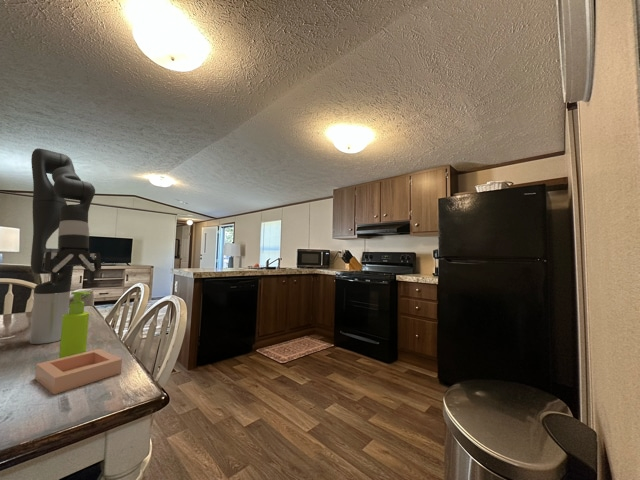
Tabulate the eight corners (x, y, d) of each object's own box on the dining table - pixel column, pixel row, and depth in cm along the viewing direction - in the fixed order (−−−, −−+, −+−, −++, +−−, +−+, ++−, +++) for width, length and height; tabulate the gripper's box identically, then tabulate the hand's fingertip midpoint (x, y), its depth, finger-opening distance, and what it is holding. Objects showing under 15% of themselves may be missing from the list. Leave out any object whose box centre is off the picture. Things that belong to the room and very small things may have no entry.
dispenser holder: (34, 378, 65) (36, 363, 65) (98, 361, 76) (99, 348, 77) (53, 394, 58) (55, 378, 58) (121, 372, 69) (121, 359, 69)
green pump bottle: (71, 362, 75) (77, 293, 76) (53, 360, 76) (59, 292, 77) (93, 355, 80) (98, 291, 82) (75, 353, 82) (81, 289, 83)
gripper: (95, 239, 95) (95, 283, 93) (40, 236, 83) (38, 286, 80) (104, 235, 92) (104, 281, 89) (48, 231, 79) (46, 284, 77)
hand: (73, 283), depth 85 cm, fingers open, 8 cm apart
